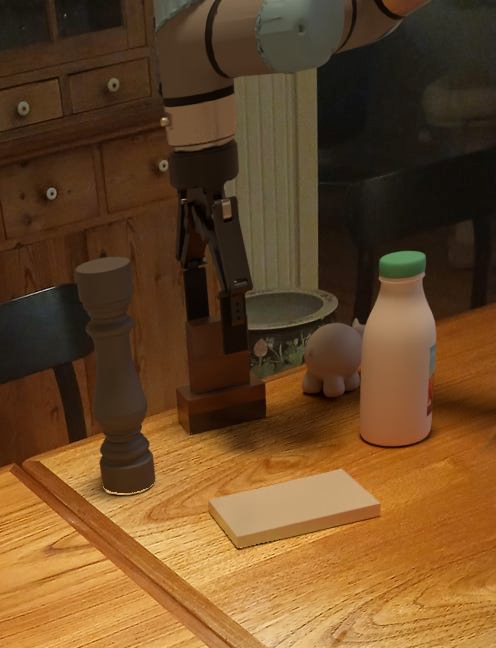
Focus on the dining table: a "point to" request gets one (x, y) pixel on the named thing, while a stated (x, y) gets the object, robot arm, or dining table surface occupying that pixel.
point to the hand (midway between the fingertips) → (216, 336)
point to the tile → (293, 508)
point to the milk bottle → (398, 356)
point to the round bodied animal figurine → (333, 359)
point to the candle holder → (116, 375)
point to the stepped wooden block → (217, 381)
